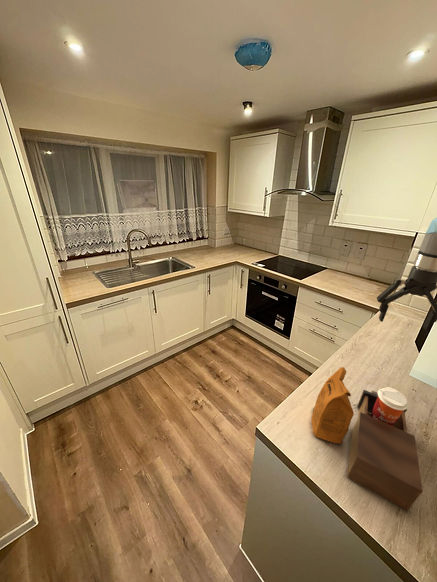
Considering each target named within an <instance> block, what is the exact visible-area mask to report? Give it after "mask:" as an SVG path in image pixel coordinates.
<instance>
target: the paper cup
mask: <svg viewBox="0 0 437 582" xmlns="http://www.w3.org/2000/svg"><path fill="white" fill-rule="evenodd" d="M377 392H378V397H377V400H376V402H375V405H374V408H373V411H372V413H370V414H371V417H373V418H375V419H378V420H380V421H382V422H384V423H387V424H389V425H391V426H394V424H395V423H396V421H397V420H398V418H399V417H400V415H401V414H402V413H403V411H404V410H406V409H407V410H408V408H409V402H408V399H407V398H406V396H405V395H404V394H403V393H402V392H400V391H399V390H397V389H395V388H393V387H387V386H386V387H385V386H384V387H382V388H381V389H378V391H377Z"/></svg>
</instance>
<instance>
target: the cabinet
mask: <svg viewBox="0 0 437 582" xmlns="http://www.w3.org/2000/svg"><path fill="white" fill-rule="evenodd" d="M350 437H351V438H350V447H349V456H348V464H347V465H348V466H347V475H346V477H347V478H348V479H349V480H351V481H353V482H355V483H357V484H358V485H360V486H362V487H364V488H365V489H366V490H369V491H370V492H373V493H374V494H376V495H378V496H379V497H381V498H383V499H384V500H387V501H388V502H390V503H392V504H393V505H395V506H397V507H399V508H401V509H402V510H404V511H406V512H408V511H409V510H410V508H411V507H412V506H413V504H414V503H415V502H416V501H417V500H418V498H419V497H420V496H421V494H422V493H423V484H422V478H421V471H420V464H419V457H418V450H417V443H416V436H415V435H414V434H412V433H409V432H408V431H407V432H405V431H403V430H400V429H398V428H396V427H394V426H391V425H389V424H387V423H384V422H382V421H380V420H378V419H375V418H373V417H371V416H368V415H366V414H364V413H362V412H360V414H359V413H358V417H357V419H356V422H355V424H354V426H353V428H352V431H351V436H350Z"/></svg>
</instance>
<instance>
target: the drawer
mask: <svg viewBox="0 0 437 582" xmlns="http://www.w3.org/2000/svg"><path fill="white" fill-rule="evenodd" d="M377 397H378V391H375V390H370V391H368V390H366V389H363V391H362V392H361V395H360V397H359V400H358V402H357V405H356V407H357V408H358V409H359V410H358V415H359V414H360V412H362V413H364V414H366V415H368V416H371V414H372V411H373V408H374V405H375V402H376V400H377ZM407 410H408V408H407V409H406V410H404V411H403V413H402V414H401V415H400V417H399V418H398V420H397V421H396V423H395V424H394V427H396V428H398V429H400V430H403V431H405V432H407V433H408V428H407V419H406V413H407Z"/></svg>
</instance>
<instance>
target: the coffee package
mask: <svg viewBox="0 0 437 582" xmlns="http://www.w3.org/2000/svg"><path fill="white" fill-rule="evenodd" d="M346 375H347V370H346V368H345V367H343V366H341V367H339V368H338V369H337V370H336V371H335V372H334V373H333V374H332V375H331V376H330V377H329V378H328V379H327V380H325V382H324V384H323V386H322V387H321V389H320V390H319V393H318V395H317V398H316V400H315V404H314V406H313V409H312V414H311V427H312V432H313V436H314V437H316V438H318V439H320V440H324V441H328V442H330V443H334V444H342V443H343V440H344V438H345V437H346V435H347V434H348V432H349V427H350V425H351V421H352V419H353V417H354V414H355V412H354V409H353V407H352V404H351V401H350V397H352V394H351V392H350V391H349V390H348V388H347V386H346V385H345V383H344V380H345V377H346Z"/></svg>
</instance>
